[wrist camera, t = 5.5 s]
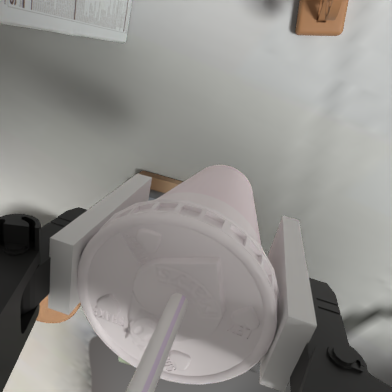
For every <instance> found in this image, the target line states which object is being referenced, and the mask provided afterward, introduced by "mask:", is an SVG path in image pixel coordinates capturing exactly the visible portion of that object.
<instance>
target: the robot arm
mask: <svg viewBox="0 0 392 392" xmlns="http://www.w3.org/2000/svg"><path fill="white" fill-rule="evenodd" d="M151 181H152V177H148V176H145V175H141V174H138V173H137V174H136V175H134V176H133V177H132V178H130V179H129V180H128V181H126V182H125V183H124V184H122V185H121V186H119V187H118V188H117V189H115V190H114V191H113V192H111V193H110V194H109V195H107V196H106V197H105V198H103V199H102V200H101V201H99V202H98V203H96V204H95V205H94V206H92V207H91V208H90V209H88V210H86V209H82V208H79V207H78V208H75V209H72V210H68V211H66V212H64V213H63V214H61V215H60V216H58V218H55V219H54V220H52V221H51V223H48V224H46V225H45V226H43V227H42V228H41V223H40V222H39V220H38V219H36V218H35V217H33V216H29V215H25V214H11V215H5V216H2V217H0V392H2V391H3V389H4V387H5V385H6V383H7V381H8V379H9V376H10V374H11V372H12V370H13V368H14V366H15V364H16V362H17V359H18V357H19V355H20V353H21V351H22V349H23V347H24V345H25V342H26V340H27V338H28V336H29V334H30V332H31V330H32V328H33V326H34V323H35V321H36V319H37V317H38V315H39V309H40V302H41V301H42V300H43V299H44V298H45V297H46V296H47V295H48V308H50V309H53V310H55V311H58V312H61V313H64V314H67V315H69V314H70V313H71V312H72V311H73V310H74V309H75V307H76V306H77V305H78V304H79V303H80V299H79V295H78V289H77V273H78V265H79V261H80V258H81V255H82V253H83V251H84V249H85V247H86V245H87V244H88V242H89V241H90V240H91V238H92V237H93V236H94V235H95V234H96V233H97V232H98V231H99V230H100V228H101V227H102V226H103V225H104V224H105V223H106V222H107V221H108V220H109V219H110V218H111V217H112V216H113V215H114V214H115V213H117V212H119V211H121V210H123V209H125V208H127V207H129V206H131V205H133V204H135V203H138V202H144V201H148V199H149V193H150V187H151ZM268 259H269V261H270V263H271V265H272V267H273V268H274V271H275V276H276V280H277V285H278V289H279V303H278V312H277V326H276V332H275V335H274V339H273V341H272V343H271V346H270V347H269V349H268V351H267V352H266V354H265V355H264V356H263V358H262V359H261V360H260V377H259V384H261V385H264V386H267V387H269V388H272V389H275V390H278V391H280V392H285V390H286V388H287V386H288V384H289V382H290V386H291V392H392V388H391V387H390V386H388V385H386V384H385V383H383V382H381V381H380V380H378V379H376V378H375V377H374V376H372V375H371V374H369V373H368V371H367V365H366V363H365V362H364V360H363V358H362V357H361V356H360V355H359V353H358V352H357V351H356V350H355V349H354V348H352V347H351V346H349V343H348V339H347V336H346V332H345V328H344V325H343V321H342V317H341V315H340V310H339V307H338V303H337V299H336V296H335V293H334V292H333V291H332V289H331V288H330V287H329V285H328V284H327V283H324V282H321V281H317V280H314V279H311V278H309V275H308V269H307V263H306V257H305V251H304V245H303V239H302V233H301V227H300V221H299V220H298V219H294V218H291V217H287V216H284V215H283V216H282V218H281V221H280V224H279V227H278V229H277V232H276V235H275V238H274V240H273V243H272V246H271V249H270V251H269V254H268Z"/></svg>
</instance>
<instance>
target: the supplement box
mask: <svg viewBox="0 0 392 392" xmlns="http://www.w3.org/2000/svg"><path fill="white" fill-rule="evenodd" d="M131 4H132V0H0V23H1V24H6V25H12V26H19V27H25V28H31V29H38V30H44V31H50V32H57V33H61V34H67V35H71V36H83V37H88V38H94V39H100V40H106V41H112V42H118V43H126V39H127V33H128V26H129V19H130V12H131Z"/></svg>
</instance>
